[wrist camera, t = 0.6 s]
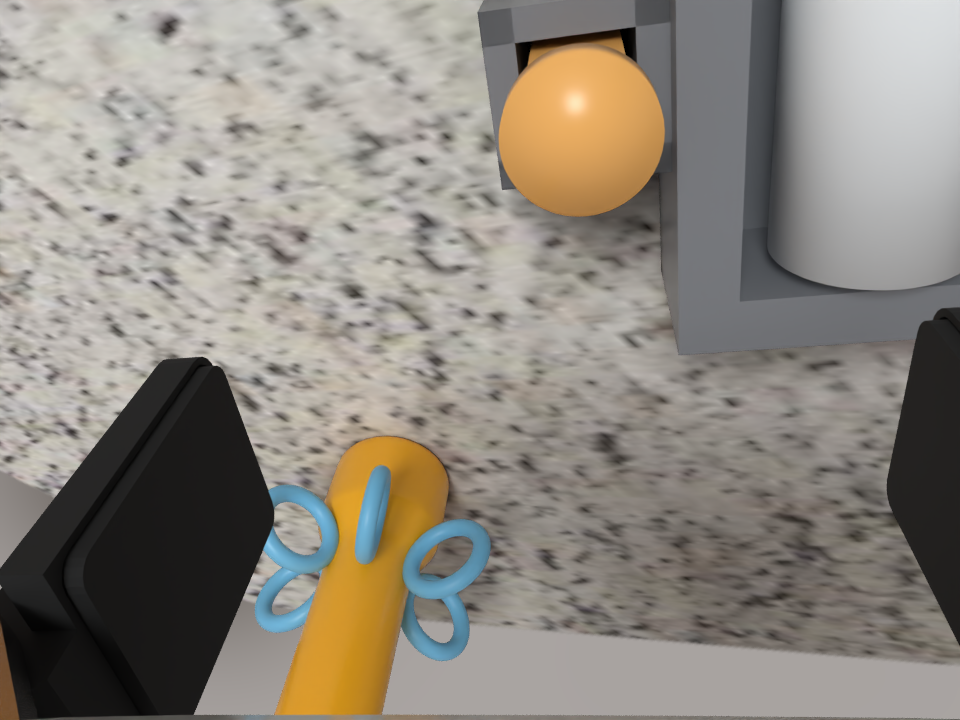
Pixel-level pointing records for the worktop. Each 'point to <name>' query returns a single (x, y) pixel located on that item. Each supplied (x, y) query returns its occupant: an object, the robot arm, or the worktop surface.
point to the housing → (712, 171)
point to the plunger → (581, 125)
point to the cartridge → (867, 143)
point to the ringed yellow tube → (368, 576)
